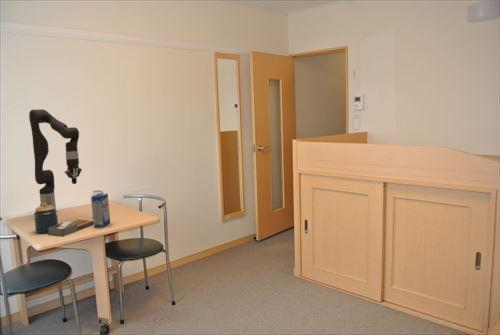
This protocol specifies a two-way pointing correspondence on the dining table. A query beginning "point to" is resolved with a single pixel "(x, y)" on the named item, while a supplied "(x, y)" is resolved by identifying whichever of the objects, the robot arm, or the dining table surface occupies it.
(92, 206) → the milk carton
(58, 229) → the tray
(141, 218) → the dining table surface
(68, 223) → the tile
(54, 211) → the canister
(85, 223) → the board
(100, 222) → the milk carton
